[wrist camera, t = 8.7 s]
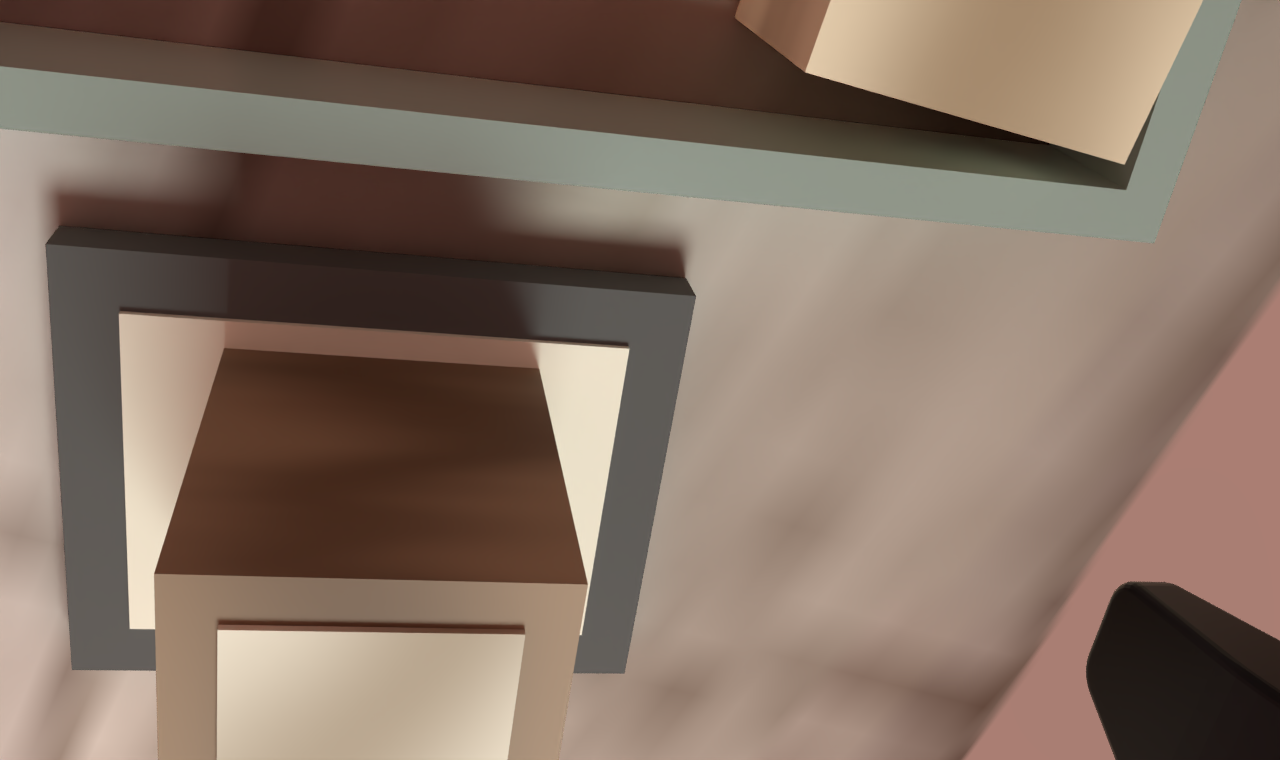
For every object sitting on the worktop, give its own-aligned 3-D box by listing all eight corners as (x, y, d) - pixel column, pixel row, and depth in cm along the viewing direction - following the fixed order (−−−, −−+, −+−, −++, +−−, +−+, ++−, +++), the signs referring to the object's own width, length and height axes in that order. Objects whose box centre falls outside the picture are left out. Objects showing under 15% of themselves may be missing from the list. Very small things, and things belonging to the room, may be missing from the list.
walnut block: (539, 368, 20) (589, 589, 15) (506, 611, 22) (539, 881, 17) (224, 348, 19) (152, 579, 13) (221, 605, 21) (159, 894, 16)
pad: (686, 278, 21) (696, 298, 20) (618, 647, 24) (625, 677, 23) (59, 225, 18) (43, 246, 18) (82, 640, 22) (70, 674, 21)
